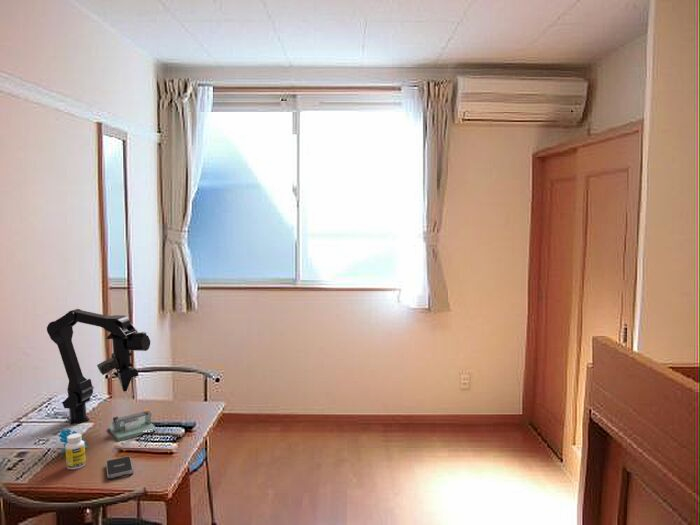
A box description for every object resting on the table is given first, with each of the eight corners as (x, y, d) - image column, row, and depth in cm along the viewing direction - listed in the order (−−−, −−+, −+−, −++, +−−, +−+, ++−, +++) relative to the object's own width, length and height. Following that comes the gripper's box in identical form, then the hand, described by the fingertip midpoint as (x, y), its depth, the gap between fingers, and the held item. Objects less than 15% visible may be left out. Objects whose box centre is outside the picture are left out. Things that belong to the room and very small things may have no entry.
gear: (78, 453, 176) (56, 432, 176) (65, 467, 176) (43, 445, 176) (94, 443, 187) (74, 423, 187) (83, 456, 187) (62, 436, 187)
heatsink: (121, 426, 199) (120, 419, 199) (135, 422, 202) (135, 415, 202) (125, 431, 194) (125, 423, 194) (140, 427, 197) (139, 420, 197)
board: (108, 428, 200) (108, 425, 200) (145, 419, 208) (144, 416, 208) (118, 441, 189) (118, 437, 189) (156, 431, 197) (156, 427, 196)
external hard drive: (107, 482, 161) (107, 475, 161) (106, 466, 171) (106, 460, 171) (133, 476, 164) (132, 470, 164) (130, 461, 174) (130, 455, 174)
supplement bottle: (73, 471, 168) (70, 440, 167) (63, 467, 170) (60, 437, 169) (89, 464, 172) (87, 434, 171) (79, 460, 175) (77, 430, 174)
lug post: (145, 425, 203) (144, 410, 202) (148, 424, 203) (147, 409, 203) (148, 428, 199) (147, 413, 199) (152, 427, 200) (151, 412, 199)
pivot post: (112, 432, 196) (111, 417, 196) (118, 431, 198) (117, 416, 197) (115, 436, 193) (114, 421, 192) (121, 434, 194) (120, 419, 194)
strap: (117, 422, 194) (117, 418, 194) (116, 420, 196) (115, 416, 196) (149, 414, 200) (149, 410, 200) (147, 412, 202) (147, 408, 202)
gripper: (92, 349, 206) (96, 390, 207) (104, 359, 191) (107, 403, 192) (123, 344, 212) (126, 383, 214) (137, 353, 197) (140, 395, 199)
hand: (124, 391), depth 205 cm, fingers closed
